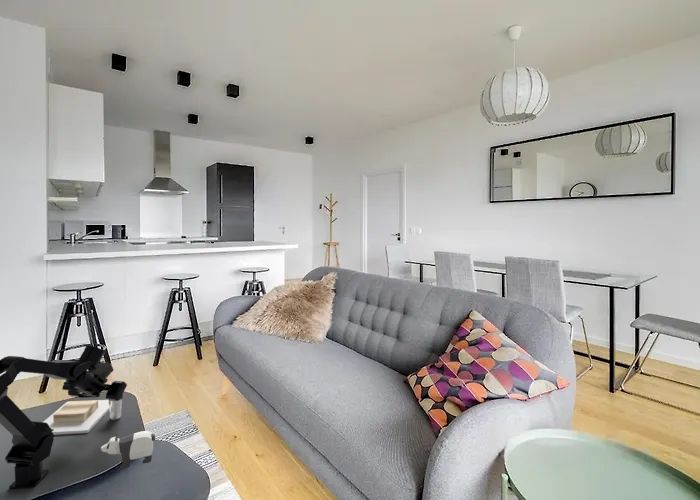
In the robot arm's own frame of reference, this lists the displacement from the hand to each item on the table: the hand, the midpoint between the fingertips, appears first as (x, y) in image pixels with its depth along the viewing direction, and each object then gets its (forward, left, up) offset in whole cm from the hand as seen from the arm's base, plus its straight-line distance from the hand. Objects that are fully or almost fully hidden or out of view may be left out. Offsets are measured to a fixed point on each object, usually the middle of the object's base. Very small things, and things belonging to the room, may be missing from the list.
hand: (110, 396), depth 134 cm
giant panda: (-25, -17, -10) cm, 31 cm away
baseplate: (+4, +13, -9) cm, 17 cm away
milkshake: (+2, -1, -10) cm, 10 cm away
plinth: (+4, +13, -9) cm, 17 cm away
